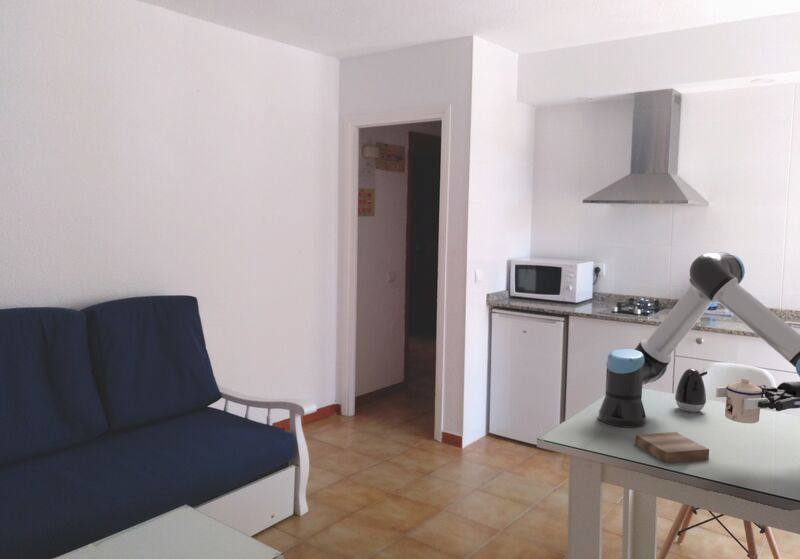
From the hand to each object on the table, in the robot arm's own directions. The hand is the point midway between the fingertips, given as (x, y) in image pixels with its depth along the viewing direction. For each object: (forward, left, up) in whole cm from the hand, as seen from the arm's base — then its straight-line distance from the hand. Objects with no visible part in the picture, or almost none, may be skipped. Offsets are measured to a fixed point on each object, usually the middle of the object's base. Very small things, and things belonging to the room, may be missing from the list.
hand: (731, 398), depth 184 cm
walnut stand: (-11, -10, -19) cm, 24 cm away
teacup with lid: (0, +4, -7) cm, 8 cm away
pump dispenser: (-46, +23, -19) cm, 55 cm away
